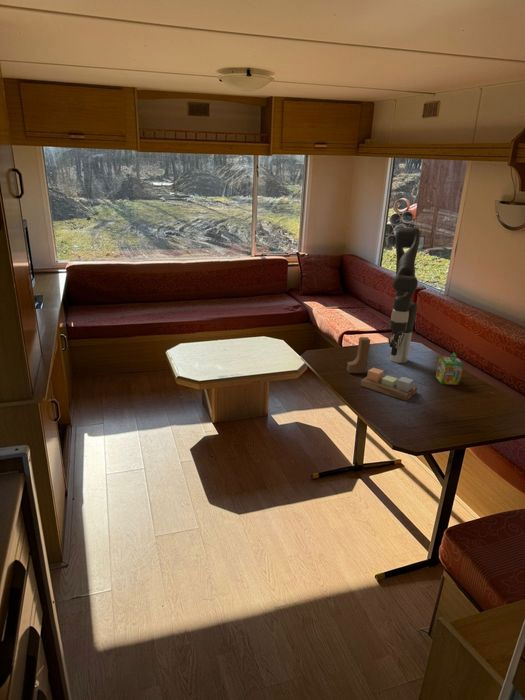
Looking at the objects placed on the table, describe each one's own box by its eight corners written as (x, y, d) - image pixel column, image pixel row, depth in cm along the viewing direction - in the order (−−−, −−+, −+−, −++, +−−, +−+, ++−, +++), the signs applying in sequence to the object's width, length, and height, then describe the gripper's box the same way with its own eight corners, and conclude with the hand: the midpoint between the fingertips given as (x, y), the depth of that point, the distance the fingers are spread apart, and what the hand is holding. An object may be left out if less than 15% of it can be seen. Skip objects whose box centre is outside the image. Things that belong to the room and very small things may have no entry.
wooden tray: (372, 378, 247) (372, 372, 246) (416, 392, 234) (417, 386, 233) (360, 385, 238) (361, 379, 237) (406, 400, 225) (407, 394, 224)
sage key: (385, 384, 239) (387, 375, 238) (396, 388, 236) (397, 378, 234) (380, 388, 235) (382, 378, 233) (391, 391, 232) (392, 382, 230)
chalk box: (434, 377, 253) (440, 350, 248) (452, 377, 254) (458, 350, 248) (441, 384, 245) (446, 356, 239) (459, 385, 245) (465, 357, 240)
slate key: (400, 386, 234) (402, 376, 233) (411, 389, 231) (413, 379, 230) (395, 389, 230) (397, 379, 229) (407, 393, 227) (408, 383, 225)
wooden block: (348, 373, 251) (353, 339, 245) (346, 369, 255) (350, 336, 249) (365, 373, 252) (370, 340, 246) (363, 369, 257) (367, 337, 250)
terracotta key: (371, 376, 243) (373, 367, 241) (382, 380, 240) (383, 370, 238) (366, 380, 239) (368, 370, 237) (377, 383, 236) (378, 373, 234)
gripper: (397, 314, 231) (392, 349, 237) (385, 320, 221) (380, 356, 227) (413, 318, 227) (407, 353, 233) (401, 324, 217) (395, 361, 223)
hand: (393, 355), depth 230 cm, fingers closed
